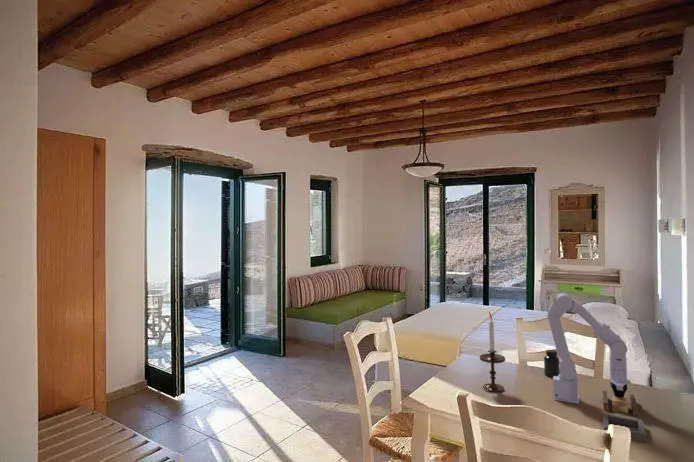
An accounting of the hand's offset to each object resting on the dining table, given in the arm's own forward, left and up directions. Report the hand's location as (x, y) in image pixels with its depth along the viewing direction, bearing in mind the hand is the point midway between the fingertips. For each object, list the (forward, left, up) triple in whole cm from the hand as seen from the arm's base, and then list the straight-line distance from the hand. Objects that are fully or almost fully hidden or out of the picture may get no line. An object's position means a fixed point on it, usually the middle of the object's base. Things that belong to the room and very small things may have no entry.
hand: (619, 402), depth 167 cm
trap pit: (0, -23, -1) cm, 23 cm away
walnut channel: (0, 0, -1) cm, 1 cm away
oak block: (0, -4, -1) cm, 4 cm away
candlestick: (-48, -3, -2) cm, 48 cm away
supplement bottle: (-26, +27, -2) cm, 37 cm away
